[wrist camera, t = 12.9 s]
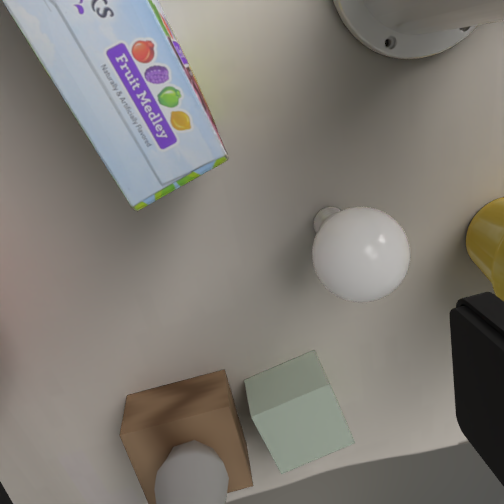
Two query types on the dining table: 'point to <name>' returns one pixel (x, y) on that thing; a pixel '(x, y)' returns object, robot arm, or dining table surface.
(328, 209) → the lightbulb
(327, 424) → the sage block
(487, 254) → the plant pot
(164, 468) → the salt shaker
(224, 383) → the walnut block
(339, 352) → the dining table surface
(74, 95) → the snack box
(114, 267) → the dining table surface
